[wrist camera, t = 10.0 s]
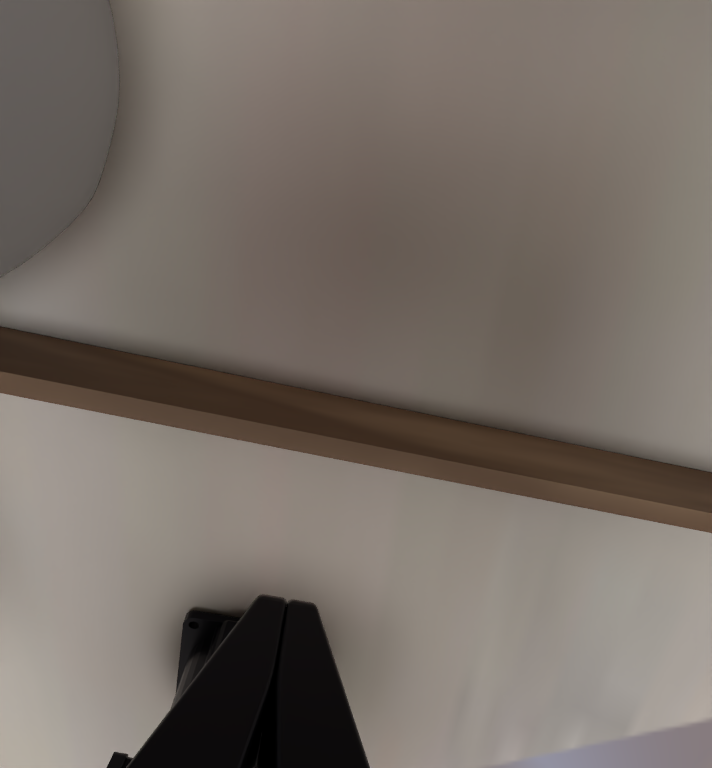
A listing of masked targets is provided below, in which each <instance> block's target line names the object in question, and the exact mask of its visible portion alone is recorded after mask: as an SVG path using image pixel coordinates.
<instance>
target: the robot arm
mask: <svg viewBox="0 0 712 768" xmlns="http://www.w3.org/2000/svg"><path fill="white" fill-rule="evenodd" d="M286 605H287V606H286ZM107 768H370V766H369V763H368V760H367V757H366V754H365V751H364V748H363V745H362V742H361V739H360V736H359V733H358V730H357V727H356V724H355V721H354V718H353V715H352V712H351V709H350V706H349V703H348V699H347V696H346V693H345V690H344V687H343V684H342V681H341V678H340V675H339V672H338V669H337V666H336V663H335V660H334V657H333V654H332V651H331V648H330V645H329V642H328V639H327V636H326V633H325V630H324V627H323V624H322V621H321V617H320V614H319V611H318V609H317V607H316V605H315V604H314V603H311V602H305V601H299V600H289V601H288V603H287V602H286V600H285V599H284V598H281V597H276V596H270V595H259V596H258V597H257V598H256V599H255V600H254V602H253V603H252V604H251V606H250V607H249V608H248V610H247V611H246V612H245V613H244V615H243V616H242V617H241V619H240V618H235V617H229V616H223V615H217V614H212V613H206V612H200V611H191V612H189V613H187V615H186V618H185V620H184V623H183V631H182V640H181V650H180V660H179V669H178V679H177V688H176V695H175V698H174V701H173V704H172V707H171V710H170V711H169V712H168V714H167V715H166V716H165V718H164V719H163V720H162V721H161V723H160V724H159V725H158V727H157V728H156V729H155V731H154V732H153V733H152V735H151V736H150V737H149V738H148V740H147V741H146V742H145V744H144V745H143V746H142V748H141V749H140V750H139V751H138V753H137V754H136V755H135V757H134V758H130V757H128V754H124V753H118V752H114V754H113V756H112V758H111V760H110V762H109V764H108V766H107Z"/></svg>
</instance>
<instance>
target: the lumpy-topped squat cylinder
mask: <svg viewBox="0 0 712 768" xmlns="http://www.w3.org/2000/svg"><path fill="white" fill-rule="evenodd" d="M119 91H120V75H119V59H118V48H117V39H116V32H115V26H114V20H113V15H112V11H111V7H110V3H109V0H0V277H2V276H3V275H5V274H7V273H8V272H10V271H12V270H13V269H15V268H17V267H18V266H20V265H21V264H23V263H24V262H26V261H27V260H28V259H30V258H31V257H32V256H34V255H35V254H36V253H38V252H39V251H40V250H41V249H43V248H44V247H45V246H46V245H47V244H49V243H50V242H51V241H52V240H53V239H54V238H56V237H57V236H58V235H59V234H60V233H61V232H62V231H63V230H64V229H65V228H67V227H68V226H69V225H70V224H71V223H72V222H73V221H74V220H75V219H76V218H77V216H78V215H79V214H80V213H81V212H82V211H83V210H84V208H85V207H86V206H87V205H88V203H89V202H90V200H91V199H92V197H93V195H94V193H95V191H96V189H97V186H98V184H99V181H100V178H101V175H102V172H103V169H104V166H105V162H106V159H107V155H108V151H109V148H110V144H111V140H112V136H113V131H114V126H115V122H116V116H117V110H118V103H119Z"/></svg>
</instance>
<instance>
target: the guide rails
mask: <svg viewBox="0 0 712 768" xmlns="http://www.w3.org/2000/svg"><path fill="white" fill-rule="evenodd" d="M0 393H4V394H9V395H14V396H19V397H24V398H29V399H34V400H39V401H44V402H50V403H55V404H60V405H65V406H70V407H75V408H80V409H85V410H90V411H95V412H100V413H105V414H110V415H116V416H121V417H126V418H131V419H136V420H141V421H146V422H151V423H156V424H161V425H166V426H171V427H176V428H182V429H187V430H192V431H197V432H202V433H207V434H212V435H217V436H222V437H227V438H232V439H237V440H242V441H248V442H253V443H258V444H263V445H268V446H273V447H278V448H283V449H288V450H293V451H298V452H303V453H308V454H314V455H319V456H324V457H329V458H334V459H339V460H344V461H349V462H354V463H359V464H364V465H369V466H375V467H380V468H385V469H390V470H395V471H400V472H405V473H410V474H415V475H420V476H425V477H430V478H435V479H441V480H446V481H451V482H456V483H461V484H466V485H471V486H476V487H481V488H486V489H491V490H496V491H501V492H507V493H512V494H517V495H522V496H527V497H532V498H537V499H542V500H547V501H552V502H557V503H562V504H567V505H573V506H578V507H583V508H588V509H593V510H598V511H603V512H608V513H613V514H618V515H623V516H628V517H634V518H639V519H644V520H649V521H654V522H659V523H664V524H669V525H674V526H679V527H684V528H689V529H694V530H700V531H705V532H710V533H712V473H710V472H705V471H700V470H695V469H690V468H686V467H681V466H676V465H671V464H666V463H661V462H656V461H652V460H647V459H642V458H637V457H632V456H627V455H622V454H617V453H613V452H608V451H603V450H598V449H593V448H588V447H583V446H578V445H574V444H569V443H564V442H559V441H554V440H549V439H544V438H540V437H535V436H530V435H525V434H520V433H515V432H510V431H505V430H501V429H496V428H491V427H486V426H481V425H476V424H471V423H467V422H462V421H457V420H452V419H447V418H442V417H437V416H432V415H428V414H423V413H418V412H413V411H408V410H403V409H398V408H393V407H389V406H384V405H379V404H374V403H369V402H364V401H359V400H355V399H350V398H345V397H340V396H335V395H330V394H325V393H320V392H316V391H311V390H306V389H301V388H296V387H291V386H286V385H281V384H277V383H272V382H267V381H262V380H257V379H252V378H247V377H243V376H238V375H233V374H228V373H223V372H218V371H213V370H208V369H204V368H199V367H194V366H189V365H184V364H179V363H174V362H170V361H165V360H160V359H155V358H150V357H145V356H140V355H135V354H131V353H126V352H121V351H116V350H111V349H106V348H101V347H96V346H92V345H87V344H82V343H77V342H72V341H67V340H62V339H58V338H53V337H48V336H43V335H38V334H33V333H28V332H23V331H19V330H14V329H9V328H4V327H0Z"/></svg>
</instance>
